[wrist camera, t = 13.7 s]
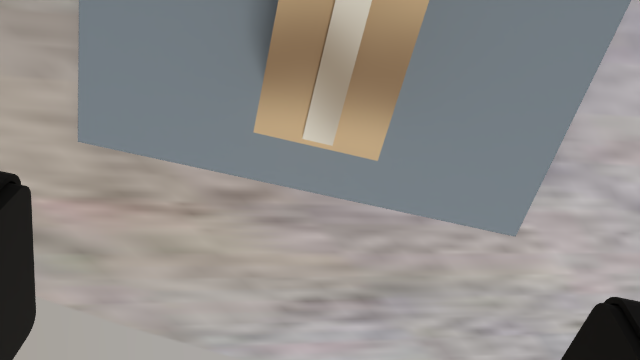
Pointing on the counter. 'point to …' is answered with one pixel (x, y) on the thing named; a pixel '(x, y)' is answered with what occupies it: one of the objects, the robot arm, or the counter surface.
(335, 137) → the taped cardboard box
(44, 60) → the counter surface
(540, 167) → the mat
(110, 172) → the counter surface
